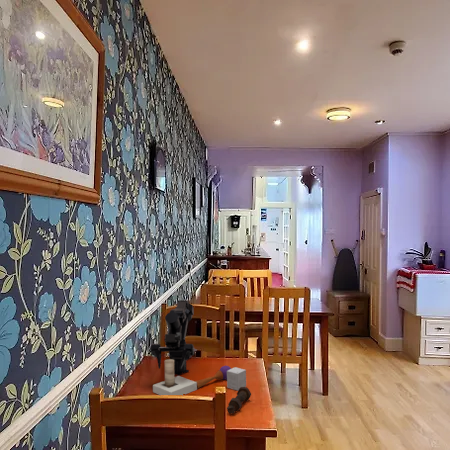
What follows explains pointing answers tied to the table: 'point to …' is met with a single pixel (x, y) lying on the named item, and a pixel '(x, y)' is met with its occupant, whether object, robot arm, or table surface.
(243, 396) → the bolt
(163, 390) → the board
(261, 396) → the table surface
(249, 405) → the table surface
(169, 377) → the peg
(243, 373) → the product box
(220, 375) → the kendama
